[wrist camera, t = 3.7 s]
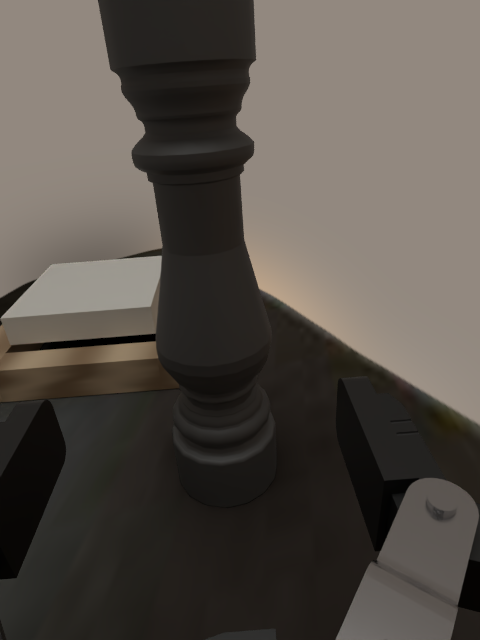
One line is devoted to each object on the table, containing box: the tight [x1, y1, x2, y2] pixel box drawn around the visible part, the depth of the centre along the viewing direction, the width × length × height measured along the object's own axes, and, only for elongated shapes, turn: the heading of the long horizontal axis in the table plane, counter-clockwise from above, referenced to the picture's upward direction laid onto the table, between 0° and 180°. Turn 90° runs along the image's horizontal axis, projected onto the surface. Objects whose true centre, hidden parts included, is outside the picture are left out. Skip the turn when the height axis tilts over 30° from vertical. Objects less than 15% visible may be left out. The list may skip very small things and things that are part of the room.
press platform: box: [0, 256, 162, 345], centre depth 40 cm, size 12×12×2 cm
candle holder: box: [98, 0, 277, 507], centre depth 21 cm, size 6×6×25 cm
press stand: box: [0, 324, 179, 402], centre depth 42 cm, size 18×18×3 cm
